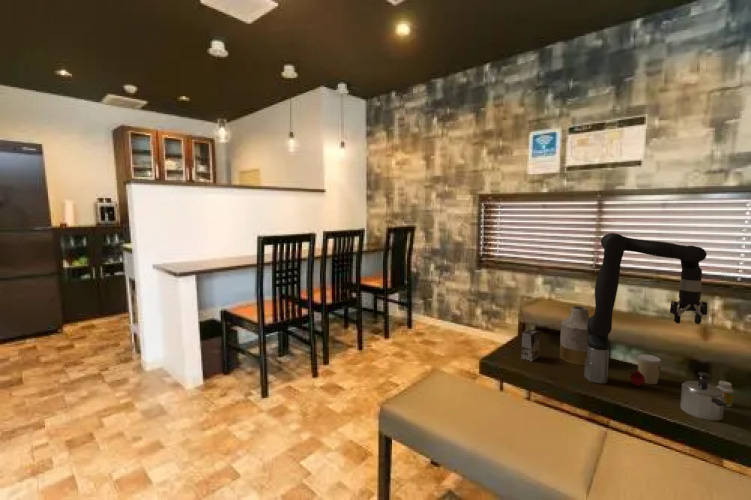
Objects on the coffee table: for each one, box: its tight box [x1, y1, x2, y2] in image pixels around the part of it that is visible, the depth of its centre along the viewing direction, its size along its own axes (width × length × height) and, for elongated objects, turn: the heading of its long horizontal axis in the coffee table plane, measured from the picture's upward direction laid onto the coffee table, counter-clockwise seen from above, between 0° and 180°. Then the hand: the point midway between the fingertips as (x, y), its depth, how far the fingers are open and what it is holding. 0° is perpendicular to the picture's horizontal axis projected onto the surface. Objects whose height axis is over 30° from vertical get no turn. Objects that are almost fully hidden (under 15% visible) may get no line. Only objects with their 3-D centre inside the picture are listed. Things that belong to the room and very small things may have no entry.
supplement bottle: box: [716, 380, 734, 408], centre depth 156 cm, size 5×5×10 cm
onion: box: [629, 369, 645, 387], centre depth 173 cm, size 6×6×8 cm
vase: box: [559, 305, 591, 366], centre depth 204 cm, size 18×18×30 cm
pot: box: [679, 380, 727, 422], centre depth 150 cm, size 19×13×10 cm
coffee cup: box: [637, 353, 662, 385], centre depth 178 cm, size 9×9×12 cm
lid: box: [684, 371, 723, 397], centre depth 149 cm, size 12×12×7 cm
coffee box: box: [520, 328, 540, 362], centre depth 207 cm, size 9×6×16 cm
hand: (687, 323), depth 164 cm, fingers open, 8 cm apart
